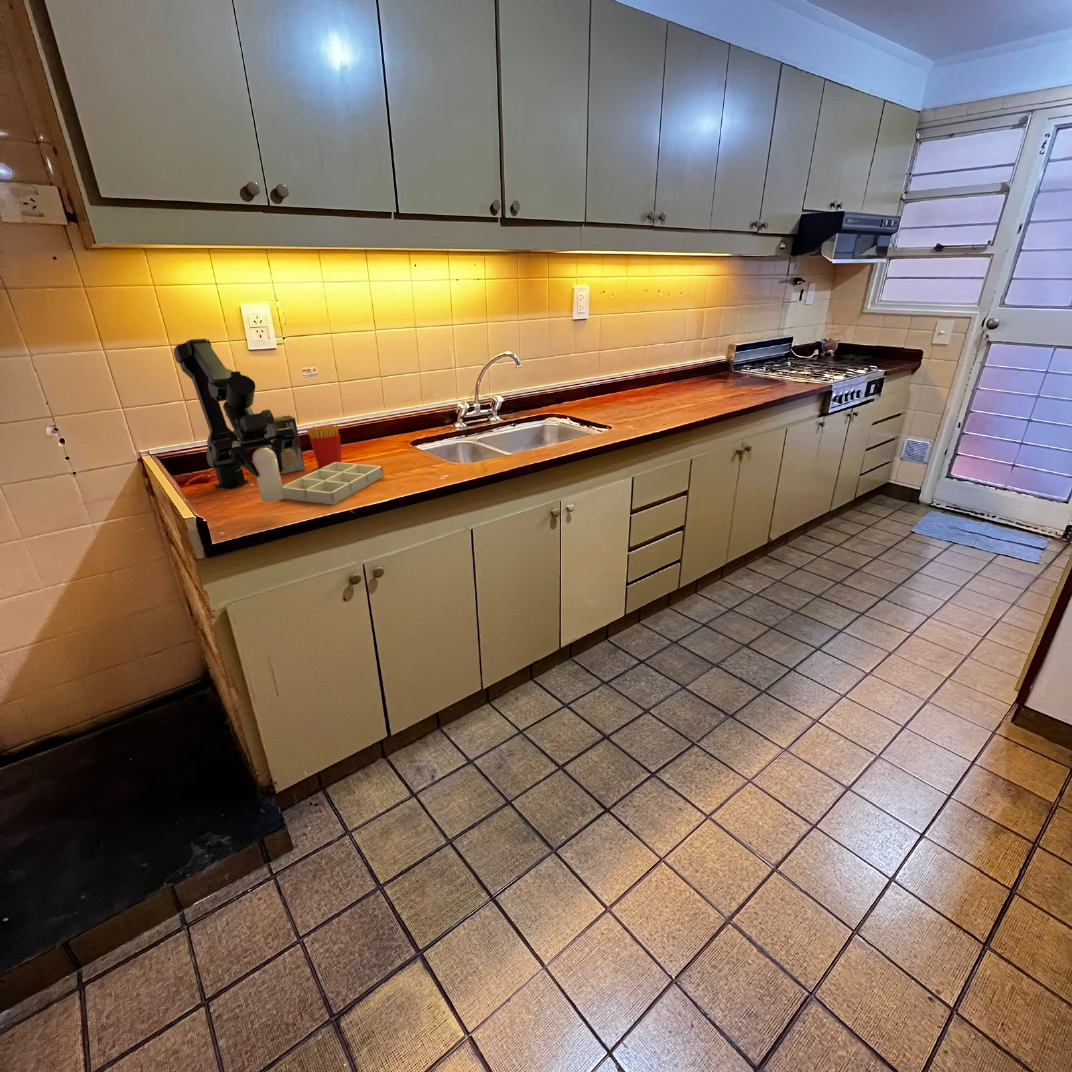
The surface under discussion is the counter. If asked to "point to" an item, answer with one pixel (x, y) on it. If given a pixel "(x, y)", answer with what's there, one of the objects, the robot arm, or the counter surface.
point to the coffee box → (291, 456)
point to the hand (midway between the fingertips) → (269, 473)
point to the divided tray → (332, 482)
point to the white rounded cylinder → (268, 475)
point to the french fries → (325, 444)
